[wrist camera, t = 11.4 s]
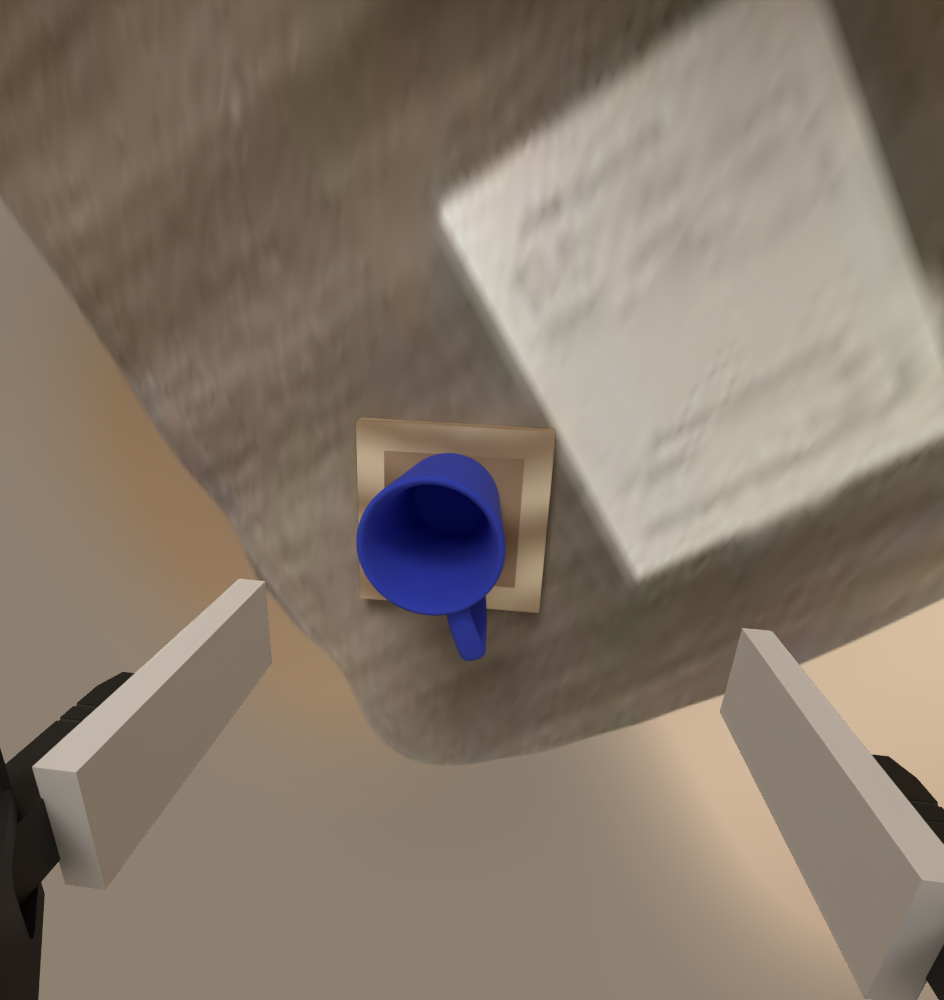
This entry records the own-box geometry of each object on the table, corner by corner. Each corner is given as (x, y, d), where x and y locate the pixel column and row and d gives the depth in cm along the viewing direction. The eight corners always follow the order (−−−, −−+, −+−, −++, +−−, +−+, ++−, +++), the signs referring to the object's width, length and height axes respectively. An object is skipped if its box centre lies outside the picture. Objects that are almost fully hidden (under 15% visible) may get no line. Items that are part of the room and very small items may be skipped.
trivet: (362, 417, 38) (355, 421, 37) (554, 428, 37) (555, 432, 36) (365, 589, 42) (360, 598, 41) (538, 603, 42) (539, 613, 40)
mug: (433, 603, 41) (407, 685, 31) (380, 458, 37) (333, 500, 28) (536, 578, 39) (541, 656, 30) (490, 425, 36) (479, 458, 26)
